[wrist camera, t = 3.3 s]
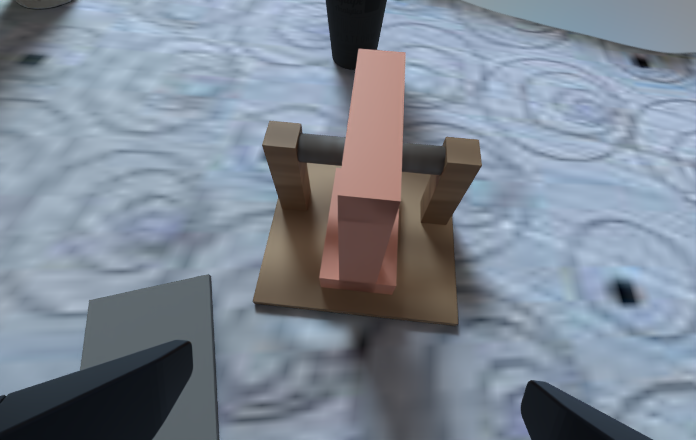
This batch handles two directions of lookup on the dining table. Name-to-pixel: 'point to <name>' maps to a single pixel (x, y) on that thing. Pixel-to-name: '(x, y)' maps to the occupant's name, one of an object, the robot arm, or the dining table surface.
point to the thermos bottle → (41, 3)
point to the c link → (368, 181)
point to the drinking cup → (354, 28)
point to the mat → (158, 328)
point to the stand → (413, 227)
